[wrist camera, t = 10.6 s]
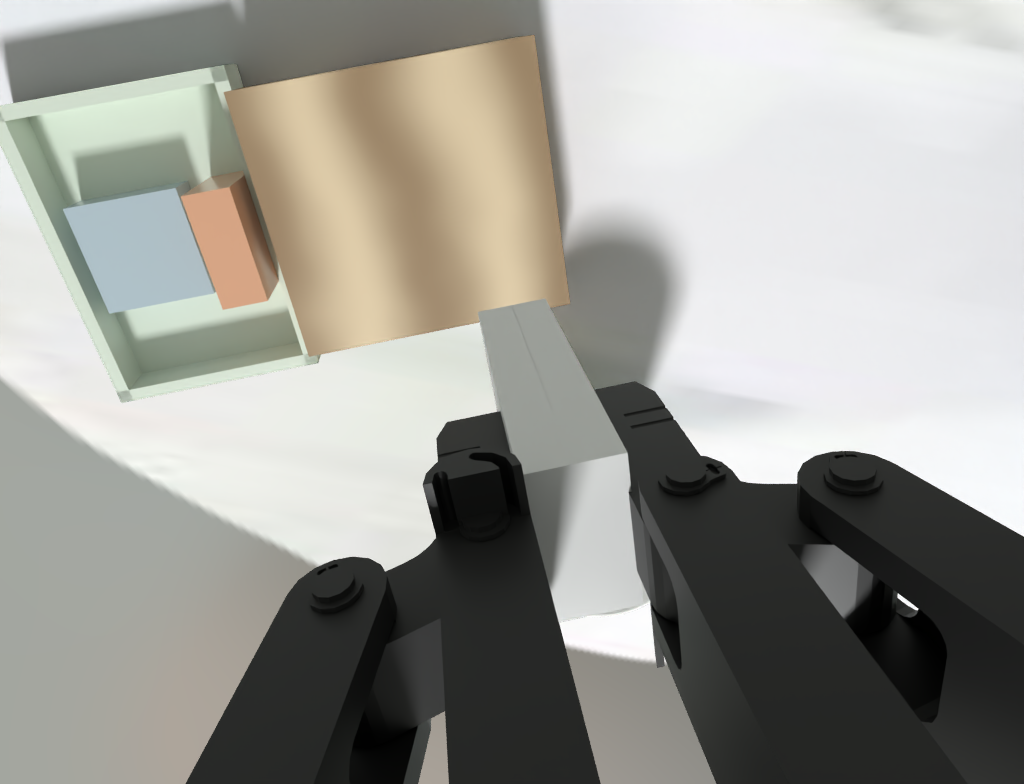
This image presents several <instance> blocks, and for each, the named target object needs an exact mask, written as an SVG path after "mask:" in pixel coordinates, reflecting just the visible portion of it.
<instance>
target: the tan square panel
mask: <svg viewBox="0 0 1024 784" xmlns="http://www.w3.org/2000/svg"><path fill="white" fill-rule="evenodd" d="M224 95H225V99H226V102H227V105H228V108H229V111H230V114H231V117H232V120H233V123H234V126H235V129H236V133H237V136H238V139H239V142H240V145H241V148H242V151H243V154H244V157H245V160H246V164H247V167H248V170H249V173H250V176H251V179H252V182H253V185H254V188H255V191H256V194H257V198H258V201H259V204H260V207H261V210H262V213H263V216H264V219H265V222H266V225H267V229H268V232H269V235H270V238H271V241H272V244H273V247H274V250H275V253H276V256H277V260H278V263H279V266H280V269H281V272H282V275H283V278H284V281H285V284H286V287H287V290H288V294H289V297H290V300H291V303H292V306H293V309H294V312H295V315H296V318H297V321H298V325H299V328H300V331H301V334H302V337H303V340H304V343H305V346H306V349H307V352H308V355H309V357H311V356H316V355H320V354H325V353H330V352H335V351H340V350H345V349H350V348H355V347H360V346H365V345H370V344H375V343H380V342H385V341H390V340H395V339H399V338H404V337H409V336H414V335H419V334H424V333H429V332H434V331H439V330H444V329H449V328H454V327H459V326H464V325H469V324H473V323H478V322H480V321H479V316H478V312H480V311H485V310H490V309H495V308H500V307H505V306H510V305H515V304H520V303H525V302H530V301H535V300H540V299H546V300H547V302H548V304H549V306H550V308H552V307H557V306H562V305H567V304H570V298H569V291H568V283H567V276H566V268H565V261H564V253H563V246H562V238H561V231H560V223H559V216H558V208H557V201H556V193H555V186H554V178H553V171H552V163H551V156H550V148H549V140H548V133H547V125H546V118H545V110H544V103H543V95H542V88H541V80H540V73H539V65H538V58H537V50H536V43H535V35H528V36H520V37H514V38H509V39H503V40H498V41H492V42H487V43H482V44H476V45H471V46H465V47H460V48H454V49H449V50H444V51H438V52H433V53H427V54H422V55H416V56H411V57H406V58H400V59H395V60H389V61H384V62H378V63H373V64H368V65H362V66H357V67H351V68H346V69H341V70H335V71H330V72H324V73H319V74H313V75H308V76H303V77H297V78H292V79H286V80H281V81H275V82H270V83H265V84H259V85H254V86H248V87H243V88H239V89H235V90H231V91H227V92H224Z"/></svg>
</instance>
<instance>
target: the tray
mask: <svg viewBox="0 0 1024 784" xmlns="http://www.w3.org/2000/svg"><path fill="white" fill-rule="evenodd" d="M239 88H243V83H242V80H241V77H240V74H239V71H238V67H237V64H227V65H220V66H214V67H209V68H203V69H198V70H193V71H187V72H182V73H176V74H171V75H165V76H160V77H154V78H149V79H143V80H138V81H132V82H127V83H121V84H116V85H110V86H105V87H99V88H94V89H88V90H83V91H78V92H72V93H67V94H61V95H56V96H50V97H45V98H39V99H34V100H28V101H23V102H17V103H12V104H6V105H1V106H0V146H1V148H2V150H3V152H4V154H5V157H6V159H7V161H8V163H9V165H10V167H11V169H12V171H13V174H14V176H15V178H16V180H17V182H18V184H19V186H20V188H21V190H22V193H23V195H24V197H25V199H26V201H27V203H28V205H29V207H30V210H31V212H32V214H33V216H34V218H35V220H36V222H37V224H38V227H39V229H40V231H41V233H42V235H43V237H44V239H45V241H46V244H47V246H48V248H49V250H50V252H51V254H52V256H53V258H54V261H55V263H56V265H57V267H58V269H59V271H60V273H61V275H62V278H63V280H64V282H65V284H66V286H67V288H68V290H69V292H70V294H71V297H72V299H73V301H74V303H75V305H76V307H77V309H78V311H79V314H80V316H81V318H82V320H83V322H84V324H85V326H86V328H87V331H88V333H89V335H90V337H91V339H92V341H93V343H94V345H95V348H96V350H97V352H98V354H99V356H100V358H101V360H102V362H103V365H104V367H105V369H106V371H107V373H108V375H109V377H110V379H111V382H112V384H113V386H114V388H115V390H116V392H117V394H118V396H119V399H120V401H121V403H124V402H129V401H134V400H139V399H144V398H149V397H154V396H158V395H163V394H168V393H173V392H178V391H183V390H188V389H193V388H198V387H203V386H208V385H213V384H218V383H222V382H227V381H232V380H237V379H242V378H247V377H252V376H257V375H262V374H267V373H272V372H277V371H282V370H286V369H291V368H296V367H301V366H306V365H311V364H316V363H318V362H319V359H320V355H321V354H320V355H316V356H311V357H309V355H308V352H307V349H306V346H305V343H304V340H303V337H302V334H301V331H300V328H299V325H298V321H297V318H296V315H295V312H294V309H293V306H292V303H291V300H290V297H289V294H288V290H287V287H286V284H285V281H284V278H283V275H282V272H281V269H280V266H279V263H278V260H277V256H276V253H275V250H274V247H273V244H272V241H271V238H270V235H269V232H268V229H267V225H266V222H265V219H264V216H263V213H262V210H261V207H260V204H259V201H258V198H257V194H256V191H255V188H254V185H253V182H252V179H251V176H250V173H249V170H248V167H247V164H246V160H245V157H244V154H243V151H242V148H241V145H240V142H239V139H238V136H237V133H236V129H235V126H234V123H233V120H232V117H231V114H230V111H229V108H228V105H227V102H226V99H225V95H224V92H227V91H231V90H235V89H239ZM238 171H243V172H244V175H245V178H246V181H247V184H248V187H249V190H250V194H251V197H252V200H253V203H254V206H255V209H256V212H257V215H258V218H259V221H260V224H261V227H262V230H263V233H264V236H265V239H266V243H267V246H268V249H269V252H270V255H271V258H272V261H273V264H274V267H275V270H276V273H277V276H278V279H279V282H278V283H277V285H276V287H275V289H274V291H273V293H272V294H271V296H270V298H269V300H268V301H265V302H260V303H255V304H250V305H245V306H240V307H235V308H230V309H225V310H223V309H222V306H221V304H220V301H219V298H218V295H217V293H216V292H215V293H214V294H209V295H203V296H198V297H193V298H188V299H183V300H178V301H173V302H167V303H162V304H157V305H152V306H147V307H142V308H136V309H131V310H126V311H121V312H116V313H111V314H109V312H108V309H107V307H106V305H105V303H104V300H103V298H102V296H101V294H100V292H99V289H98V287H97V285H96V283H95V280H94V278H93V276H92V274H91V271H90V269H89V267H88V265H87V262H86V260H85V258H84V256H83V253H82V251H81V249H80V247H79V245H78V242H77V240H76V238H75V236H74V233H73V231H72V229H71V227H70V224H69V222H68V220H67V218H66V215H65V213H64V211H63V209H64V208H66V207H68V206H70V205H72V204H75V203H77V202H79V201H81V200H86V199H91V198H97V197H102V196H107V195H113V194H118V193H124V192H129V191H134V190H140V189H145V188H150V187H156V186H161V185H167V184H172V183H177V182H183V181H188V182H189V185H190V188H191V189H193V188H194V187H196V186H197V185H199V184H200V183H202V182H203V181H205V180H206V179H208V178H209V177H211V176H217V175H222V174H227V173H232V172H238Z"/></svg>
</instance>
